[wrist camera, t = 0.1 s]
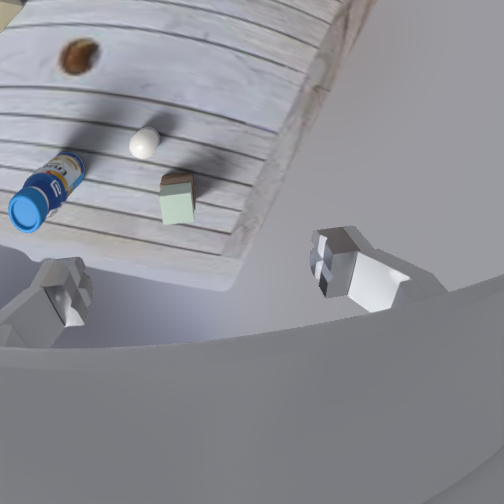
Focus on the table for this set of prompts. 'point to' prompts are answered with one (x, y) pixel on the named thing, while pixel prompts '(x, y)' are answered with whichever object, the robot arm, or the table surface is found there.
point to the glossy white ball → (144, 142)
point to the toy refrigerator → (8, 11)
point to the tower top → (176, 203)
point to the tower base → (179, 181)
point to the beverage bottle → (46, 191)
